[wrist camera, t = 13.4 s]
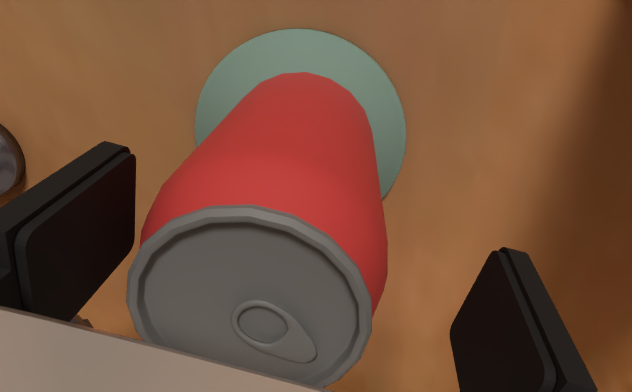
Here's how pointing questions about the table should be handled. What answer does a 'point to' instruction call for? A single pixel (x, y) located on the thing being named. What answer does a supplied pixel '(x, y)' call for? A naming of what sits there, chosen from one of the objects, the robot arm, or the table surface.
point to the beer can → (269, 237)
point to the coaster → (317, 58)
